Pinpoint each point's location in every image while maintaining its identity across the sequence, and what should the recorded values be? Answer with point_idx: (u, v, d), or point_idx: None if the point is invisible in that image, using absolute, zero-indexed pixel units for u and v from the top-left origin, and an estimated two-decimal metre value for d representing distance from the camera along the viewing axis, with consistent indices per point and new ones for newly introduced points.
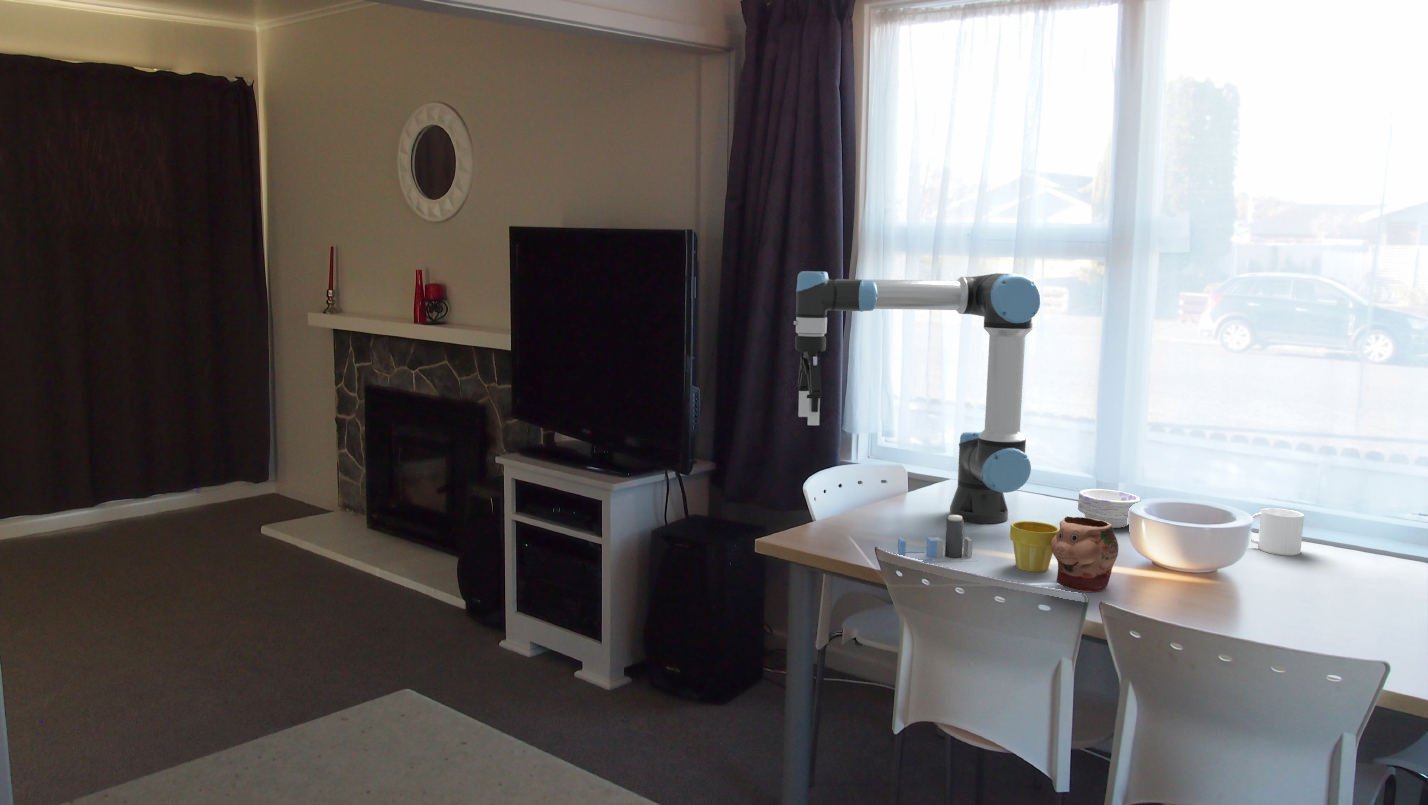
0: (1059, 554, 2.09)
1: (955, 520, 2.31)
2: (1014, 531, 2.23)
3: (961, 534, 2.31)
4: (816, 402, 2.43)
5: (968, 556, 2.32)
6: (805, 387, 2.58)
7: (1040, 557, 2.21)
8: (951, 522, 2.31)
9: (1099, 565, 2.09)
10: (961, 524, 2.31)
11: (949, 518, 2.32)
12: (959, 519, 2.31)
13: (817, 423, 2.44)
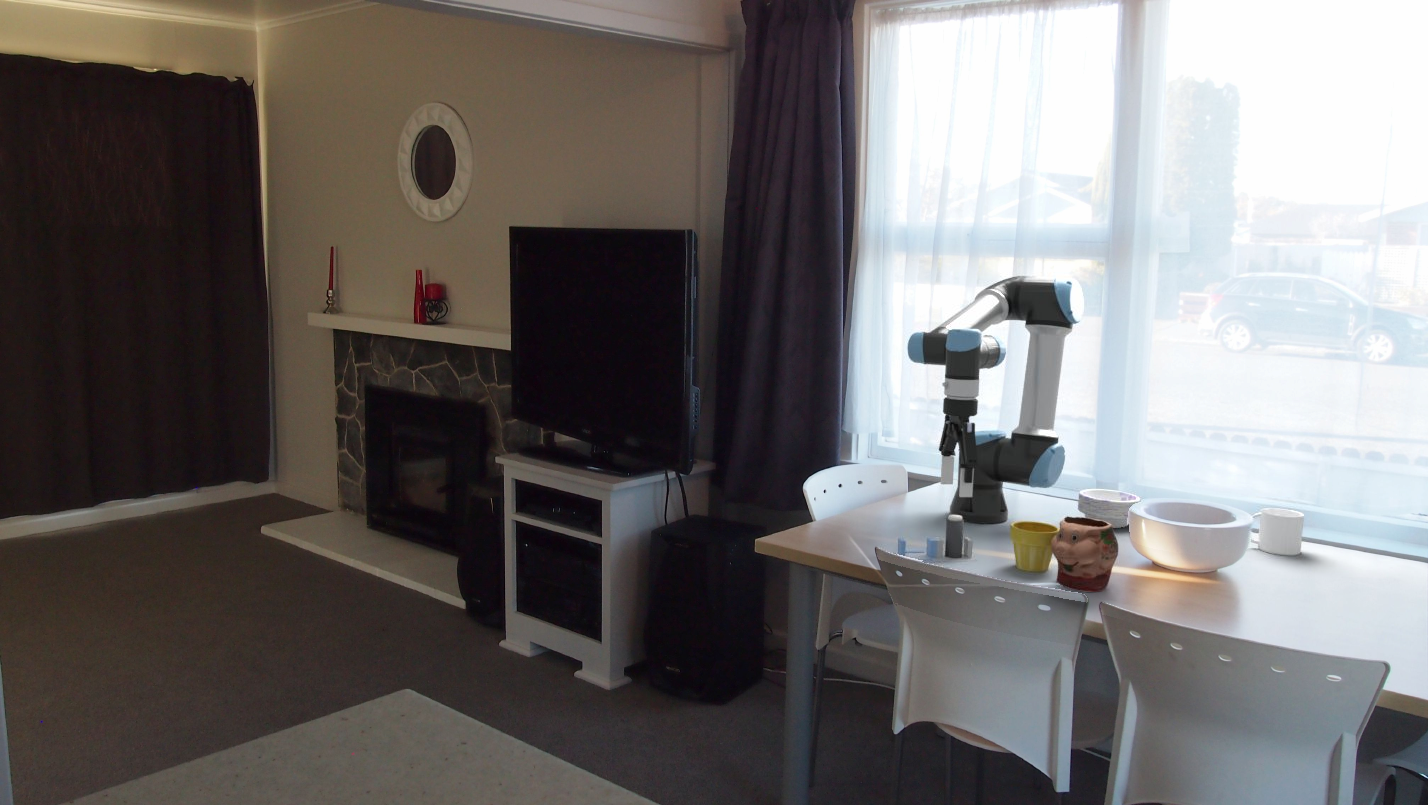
0: (1059, 554, 2.09)
1: (955, 520, 2.31)
2: (1014, 531, 2.23)
3: (961, 534, 2.31)
4: (970, 472, 2.22)
5: (968, 556, 2.32)
6: (949, 452, 2.37)
7: (1040, 557, 2.21)
8: (951, 522, 2.31)
9: (1099, 565, 2.09)
10: (961, 524, 2.31)
11: (949, 518, 2.32)
12: (959, 519, 2.31)
13: (970, 495, 2.24)
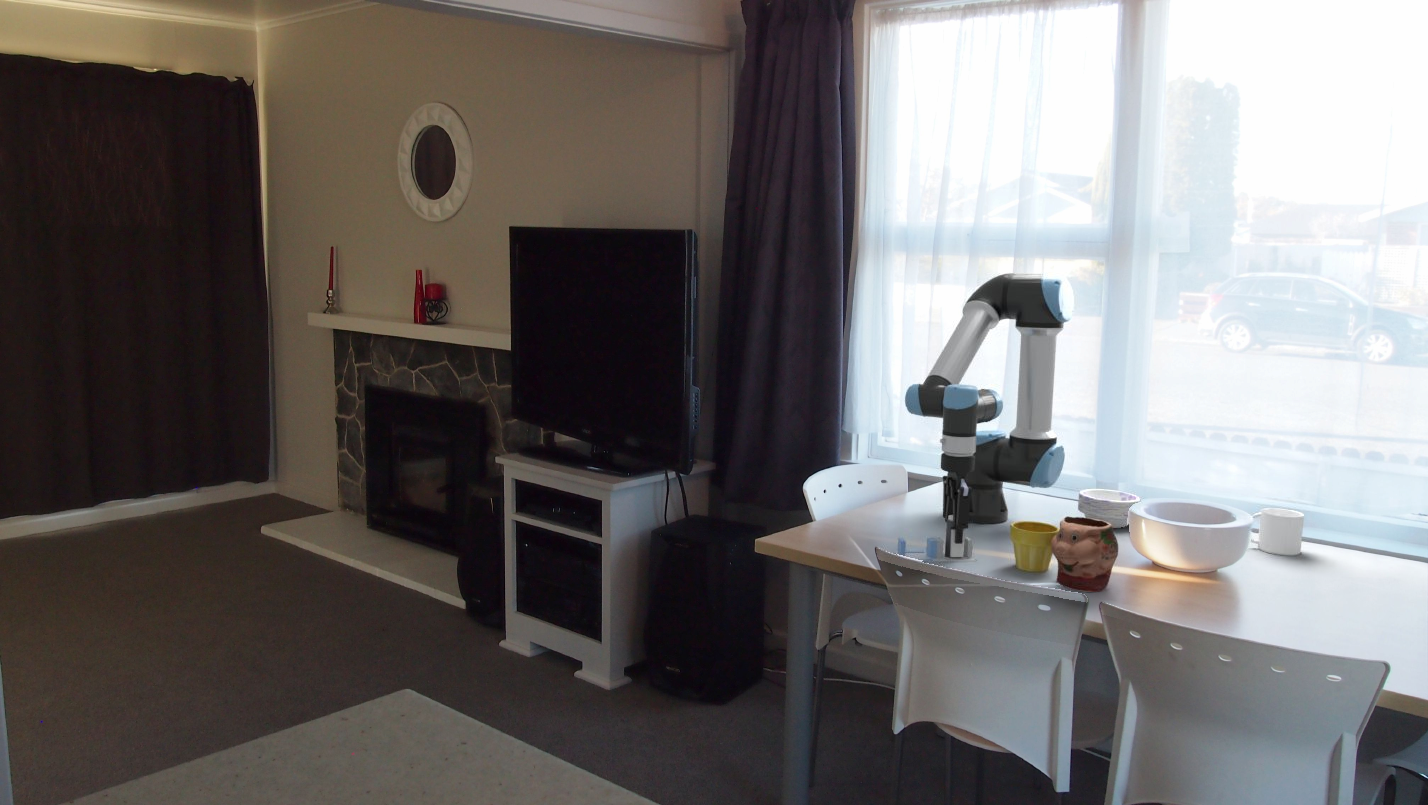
0: (1059, 554, 2.09)
1: None
2: (1014, 531, 2.23)
3: None
4: (961, 533, 2.29)
5: (968, 556, 2.32)
6: None
7: (1040, 557, 2.21)
8: (951, 522, 2.31)
9: (1098, 565, 2.09)
10: None
11: (949, 518, 2.32)
12: None
13: (961, 555, 2.31)
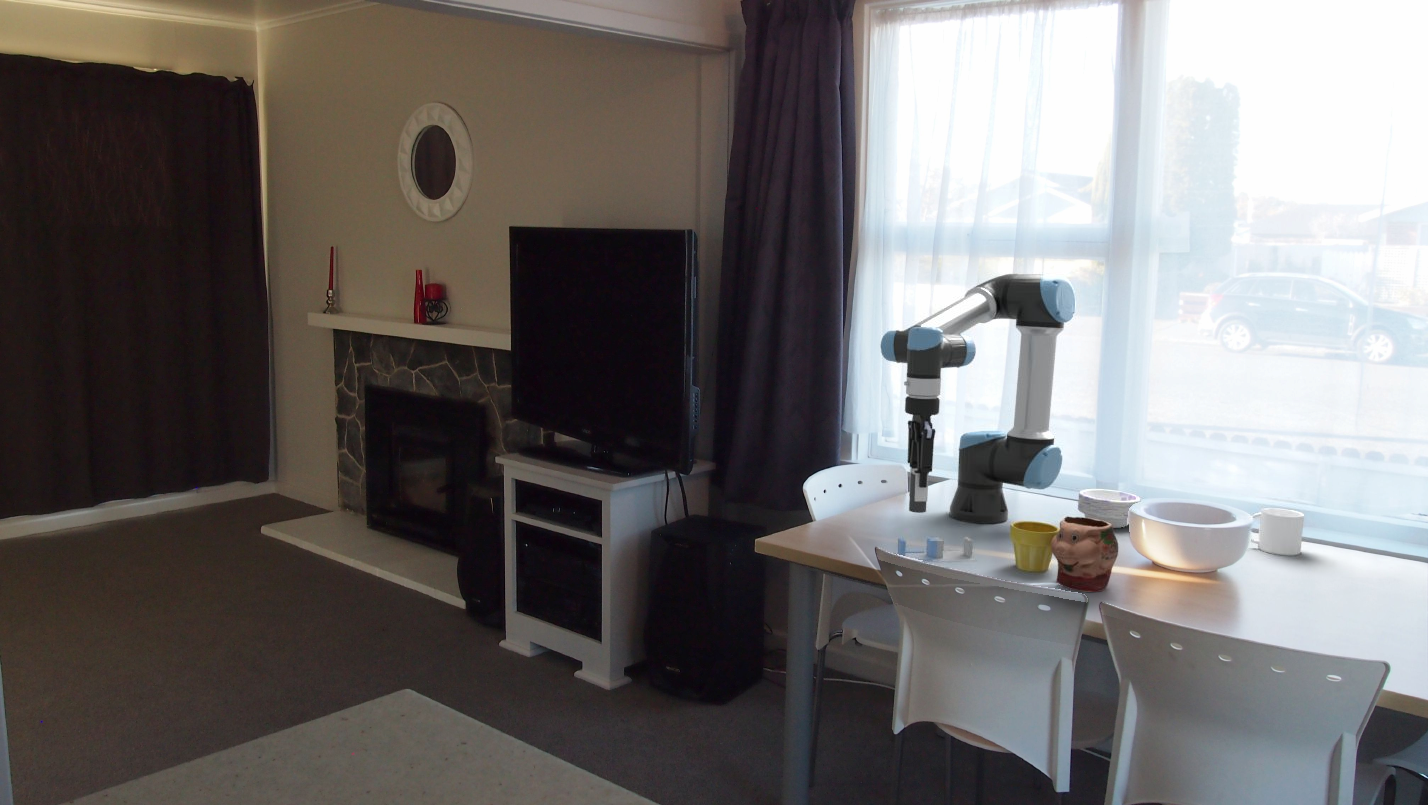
0: (1059, 554, 2.09)
1: None
2: (1014, 531, 2.23)
3: None
4: (925, 477, 2.26)
5: (968, 556, 2.32)
6: None
7: (1040, 557, 2.21)
8: (915, 476, 2.29)
9: (1099, 565, 2.09)
10: None
11: (913, 472, 2.29)
12: None
13: (925, 499, 2.28)
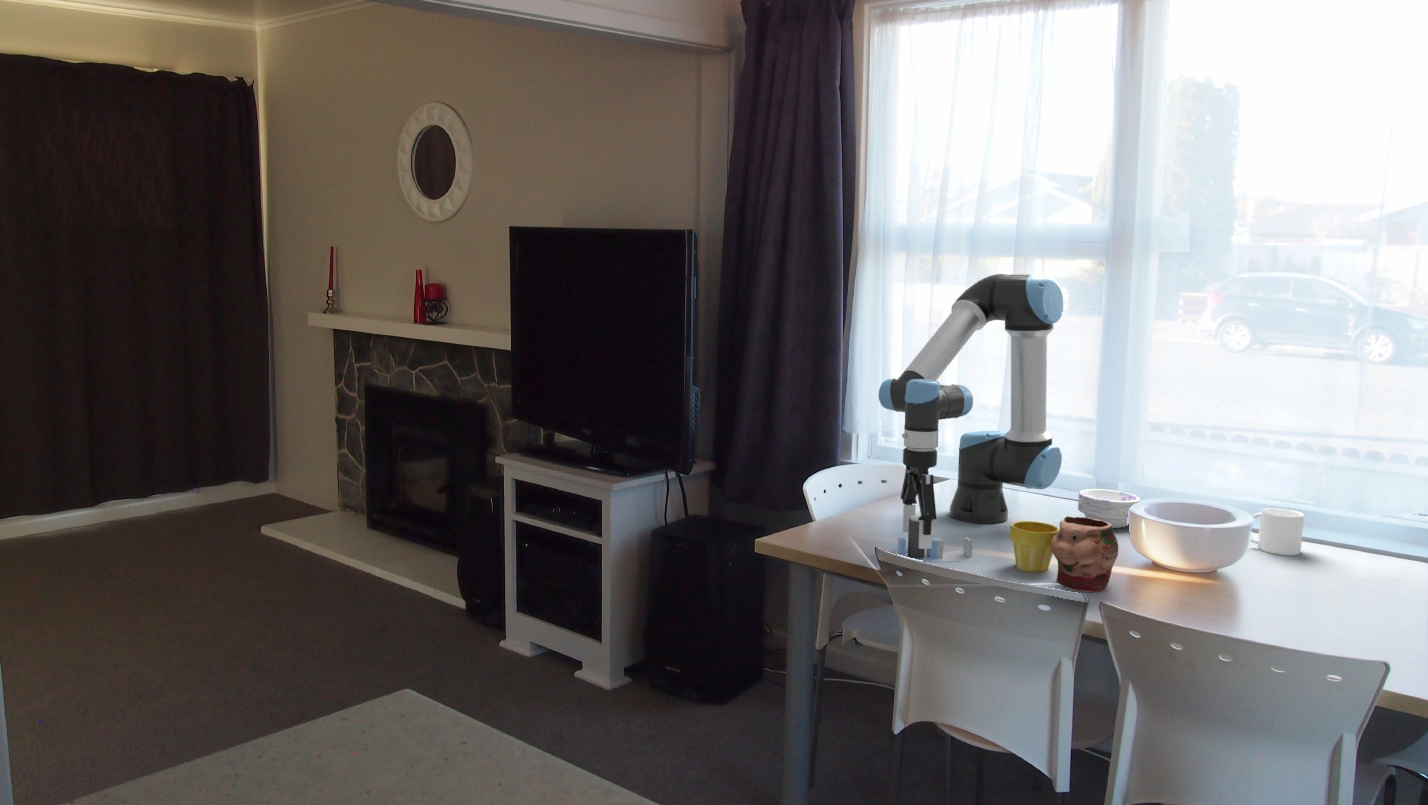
0: (1059, 554, 2.09)
1: (917, 520, 2.30)
2: (1014, 531, 2.23)
3: None
4: (929, 524, 2.23)
5: (968, 556, 2.32)
6: (910, 500, 2.38)
7: (1040, 557, 2.21)
8: (913, 522, 2.30)
9: (1099, 565, 2.09)
10: None
11: (911, 518, 2.31)
12: None
13: (929, 546, 2.25)
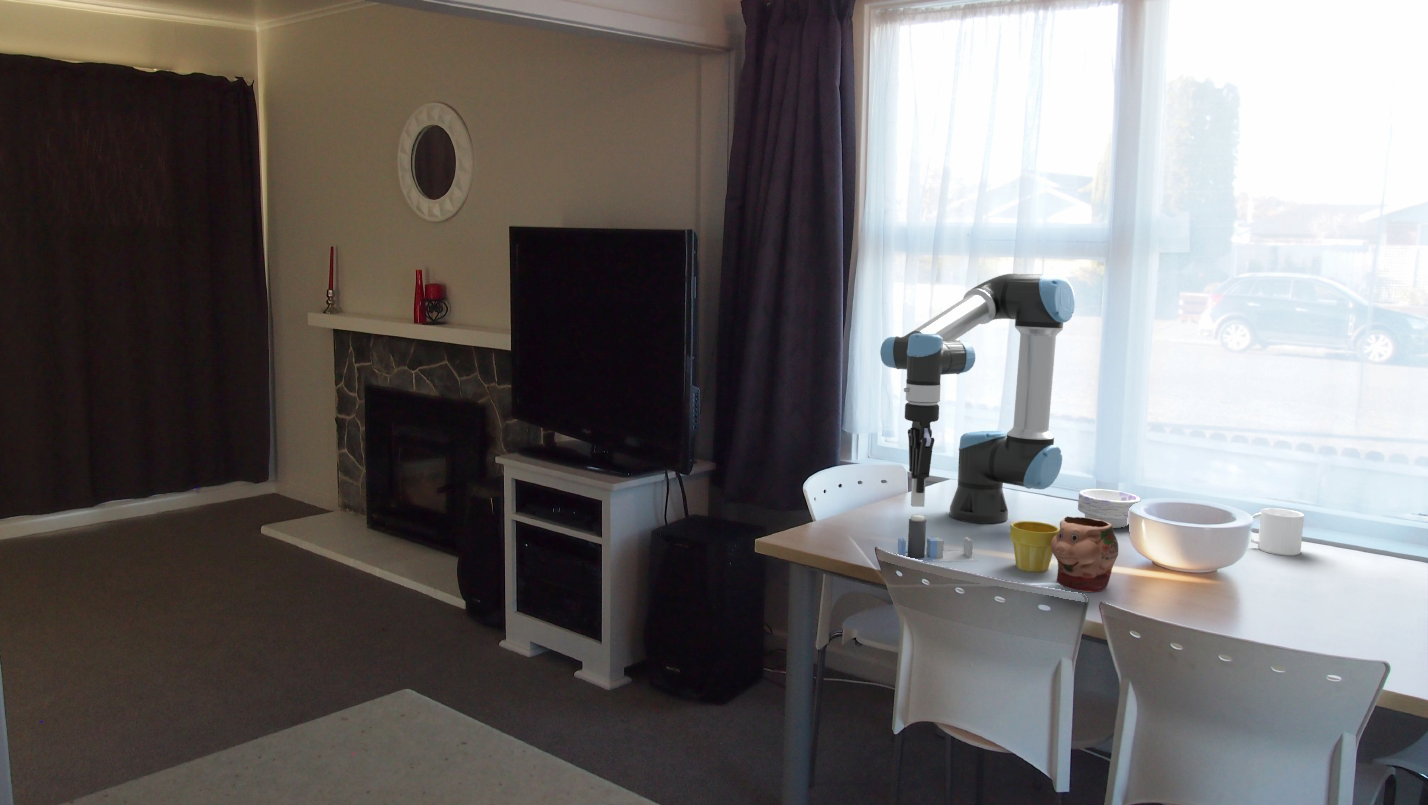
0: (1059, 554, 2.09)
1: (917, 520, 2.30)
2: (1014, 531, 2.23)
3: (923, 534, 2.31)
4: (922, 483, 2.28)
5: (968, 556, 2.32)
6: None
7: (1040, 557, 2.21)
8: (913, 522, 2.30)
9: (1099, 565, 2.09)
10: (923, 524, 2.30)
11: (911, 518, 2.31)
12: (921, 519, 2.30)
13: (922, 504, 2.30)
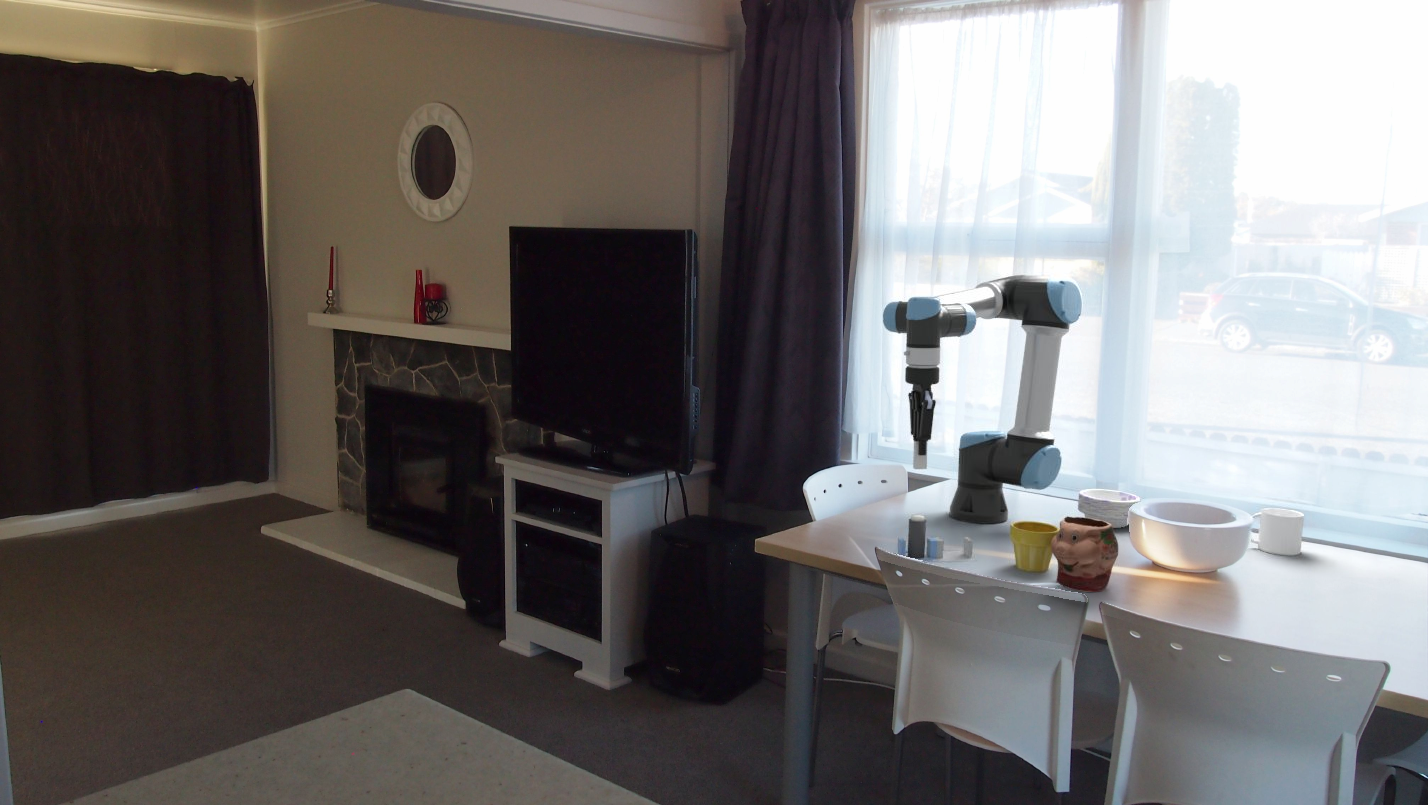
0: (1059, 554, 2.09)
1: (917, 520, 2.30)
2: (1014, 531, 2.23)
3: (923, 534, 2.31)
4: (924, 445, 2.30)
5: (968, 556, 2.32)
6: None
7: (1040, 557, 2.21)
8: (913, 522, 2.30)
9: (1099, 565, 2.09)
10: (923, 524, 2.30)
11: (911, 518, 2.31)
12: (921, 519, 2.30)
13: (924, 467, 2.32)
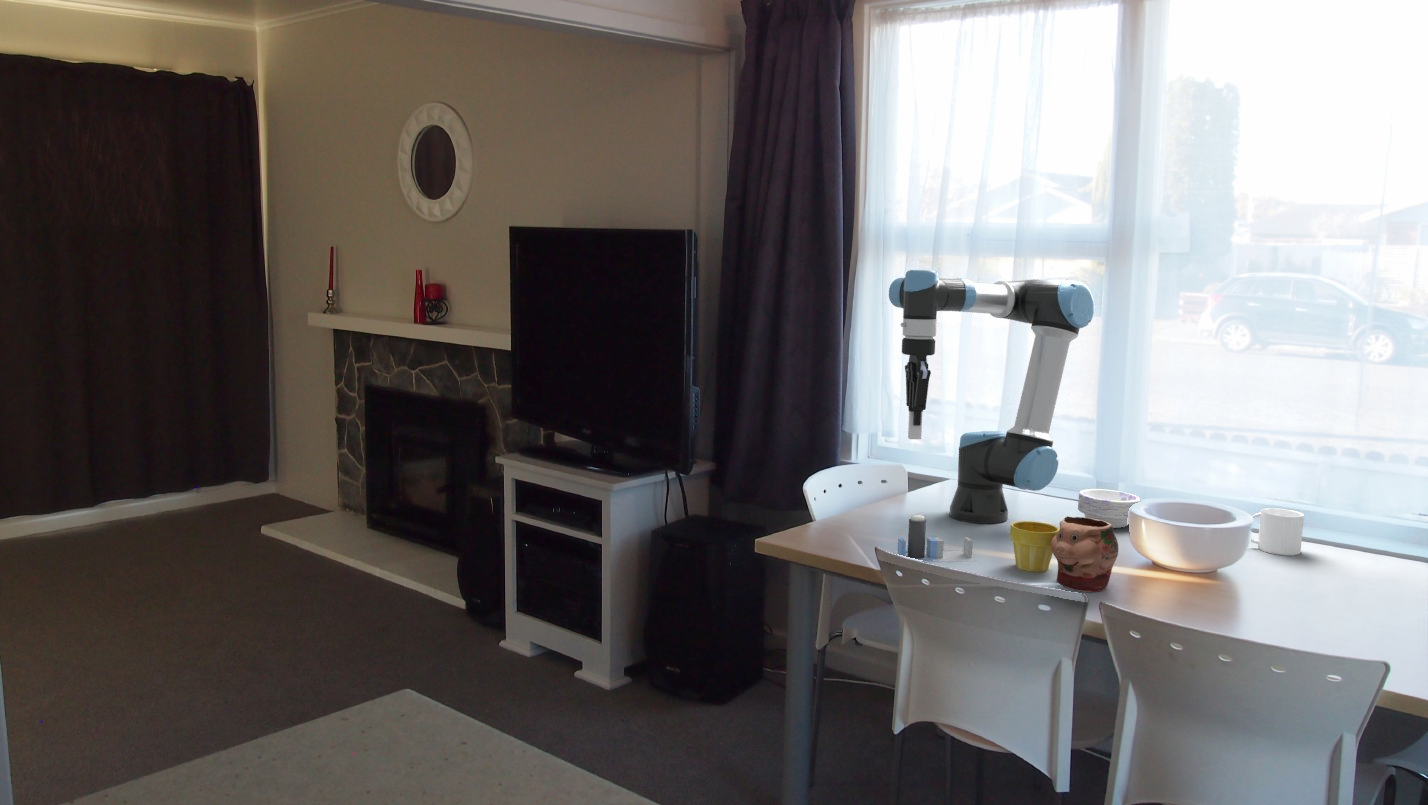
0: (1059, 554, 2.09)
1: (917, 520, 2.30)
2: (1014, 531, 2.23)
3: (923, 534, 2.31)
4: (919, 415, 2.35)
5: (968, 556, 2.32)
6: None
7: (1040, 557, 2.21)
8: (913, 522, 2.30)
9: (1099, 565, 2.09)
10: (923, 524, 2.30)
11: (911, 518, 2.31)
12: (921, 519, 2.30)
13: (919, 437, 2.36)
